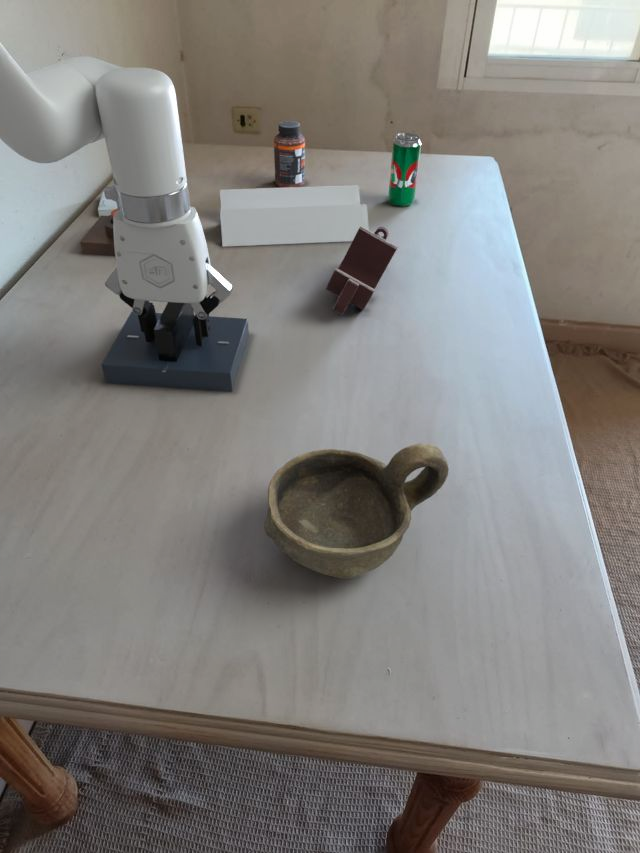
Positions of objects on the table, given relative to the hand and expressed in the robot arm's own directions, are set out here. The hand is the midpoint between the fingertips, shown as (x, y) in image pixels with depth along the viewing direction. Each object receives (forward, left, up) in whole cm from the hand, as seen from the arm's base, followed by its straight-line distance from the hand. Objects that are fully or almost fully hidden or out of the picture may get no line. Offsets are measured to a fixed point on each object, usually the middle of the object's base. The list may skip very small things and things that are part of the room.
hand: (177, 336), depth 80 cm
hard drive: (-20, +45, -4) cm, 49 cm away
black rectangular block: (0, 0, 0) cm, 0 cm away
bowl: (+24, -26, -4) cm, 36 cm away
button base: (-17, +31, -4) cm, 36 cm away
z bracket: (+10, +40, -4) cm, 41 cm away
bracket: (+23, +19, -4) cm, 30 cm away
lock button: (-17, +31, 0) cm, 35 cm away
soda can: (+29, +53, -4) cm, 61 cm away
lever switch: (0, 0, -4) cm, 4 cm away
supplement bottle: (+7, +59, -4) cm, 60 cm away
